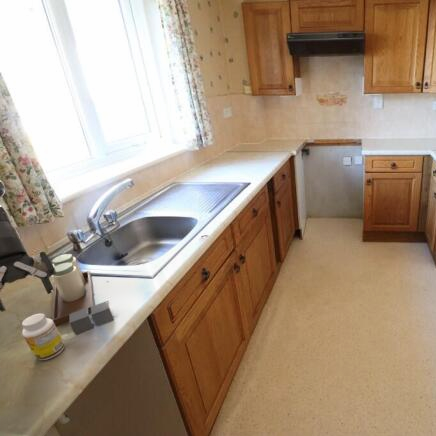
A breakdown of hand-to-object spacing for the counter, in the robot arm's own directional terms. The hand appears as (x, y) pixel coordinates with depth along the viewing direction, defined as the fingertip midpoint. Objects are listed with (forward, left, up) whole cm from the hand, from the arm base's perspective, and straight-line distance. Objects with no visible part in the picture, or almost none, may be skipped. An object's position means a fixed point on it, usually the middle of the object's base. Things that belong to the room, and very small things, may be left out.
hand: (27, 301), depth 76 cm
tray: (+6, +14, -12) cm, 19 cm away
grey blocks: (+10, -2, -12) cm, 15 cm away
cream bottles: (+6, +19, -11) cm, 23 cm away
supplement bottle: (+1, -7, -12) cm, 14 cm away
